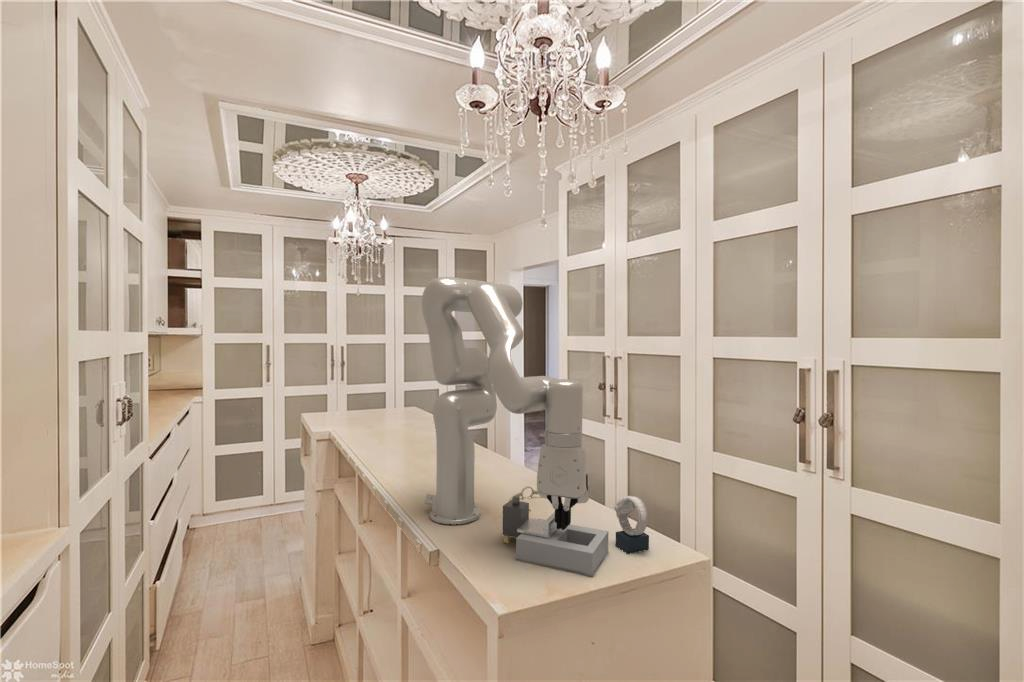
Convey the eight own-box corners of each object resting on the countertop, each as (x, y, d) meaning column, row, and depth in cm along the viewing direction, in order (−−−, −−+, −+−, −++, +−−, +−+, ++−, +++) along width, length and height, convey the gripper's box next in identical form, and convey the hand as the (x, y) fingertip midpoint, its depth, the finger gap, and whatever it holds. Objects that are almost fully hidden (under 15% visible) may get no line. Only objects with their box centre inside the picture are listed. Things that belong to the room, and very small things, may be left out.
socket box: (516, 560, 103) (516, 538, 103) (538, 538, 114) (538, 518, 113) (592, 576, 96) (592, 553, 96) (608, 552, 107) (608, 531, 107)
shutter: (517, 532, 105) (517, 517, 105) (530, 520, 112) (530, 507, 112) (548, 538, 102) (548, 523, 102) (560, 526, 109) (560, 512, 109)
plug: (502, 542, 111) (502, 498, 111) (510, 535, 115) (511, 492, 115) (520, 546, 109) (521, 501, 109) (528, 539, 113) (529, 495, 113)
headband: (518, 506, 129) (503, 489, 138) (517, 519, 130) (502, 502, 138) (568, 498, 135) (550, 483, 144) (566, 511, 136) (549, 495, 145)
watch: (630, 538, 114) (631, 490, 114) (654, 553, 107) (654, 501, 106) (610, 542, 112) (610, 493, 111) (632, 557, 104) (633, 504, 104)
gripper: (523, 439, 104) (522, 527, 104) (593, 446, 98) (592, 540, 98) (537, 432, 111) (536, 515, 111) (603, 439, 105) (602, 527, 105)
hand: (562, 527), depth 105 cm, fingers closed
